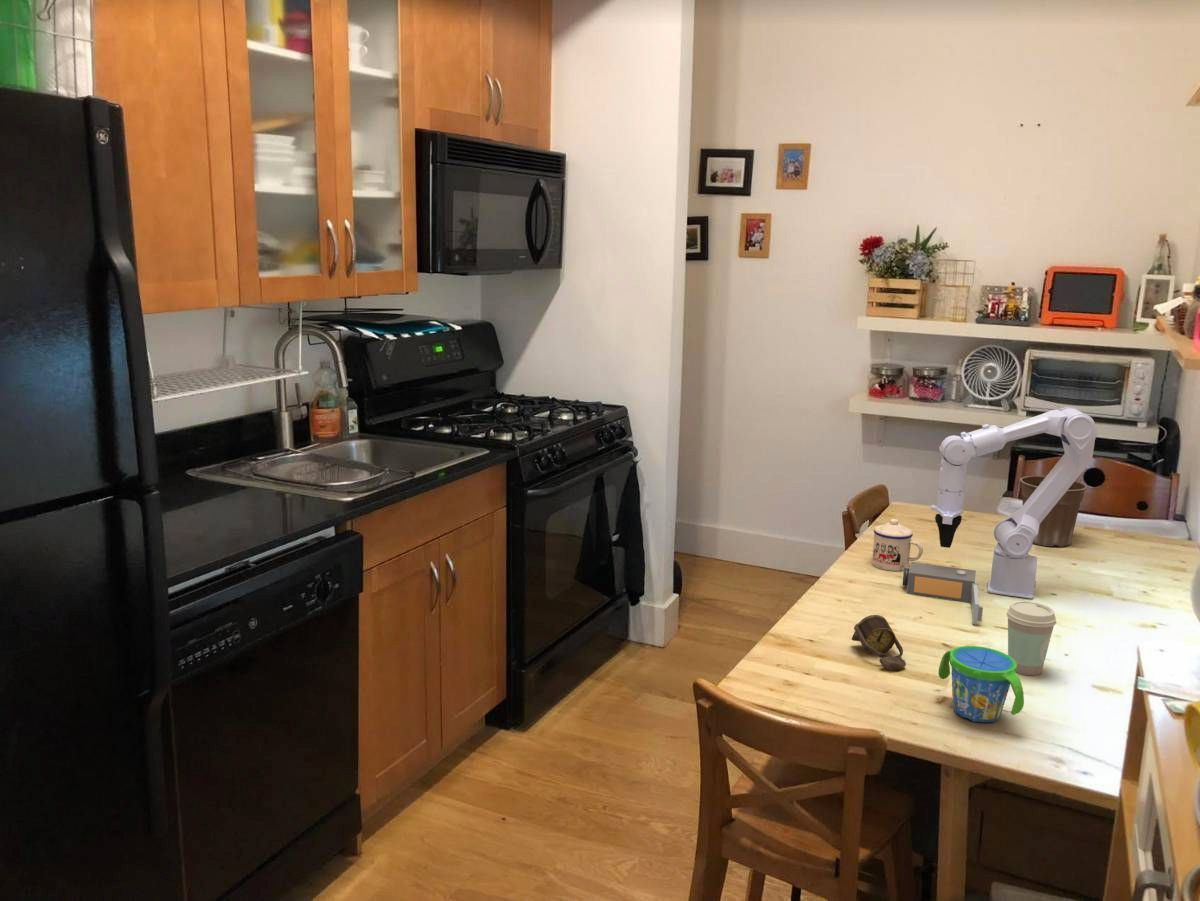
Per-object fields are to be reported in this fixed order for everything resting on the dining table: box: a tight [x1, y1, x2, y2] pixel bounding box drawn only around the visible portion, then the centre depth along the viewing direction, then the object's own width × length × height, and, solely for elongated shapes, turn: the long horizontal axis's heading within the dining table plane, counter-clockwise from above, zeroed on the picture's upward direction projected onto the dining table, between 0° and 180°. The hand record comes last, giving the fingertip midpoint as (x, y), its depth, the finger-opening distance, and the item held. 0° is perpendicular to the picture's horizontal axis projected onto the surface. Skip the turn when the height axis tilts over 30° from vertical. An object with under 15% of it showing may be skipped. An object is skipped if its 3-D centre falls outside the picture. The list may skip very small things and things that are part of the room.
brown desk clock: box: [851, 614, 907, 671], centre depth 189 cm, size 7×13×10 cm
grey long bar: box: [969, 582, 984, 625], centre depth 211 cm, size 14×2×4 cm, turn 161°
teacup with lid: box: [871, 518, 924, 572], centre depth 240 cm, size 12×9×12 cm
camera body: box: [902, 561, 977, 604], centre depth 224 cm, size 15×8×6 cm, turn 68°
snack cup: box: [938, 645, 1025, 723], centre depth 166 cm, size 16×10×10 cm
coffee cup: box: [1005, 600, 1057, 676], centre depth 184 cm, size 8×8×12 cm
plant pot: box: [1019, 475, 1088, 548], centre depth 263 cm, size 16×16×16 cm
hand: (945, 546), depth 227 cm, fingers closed
